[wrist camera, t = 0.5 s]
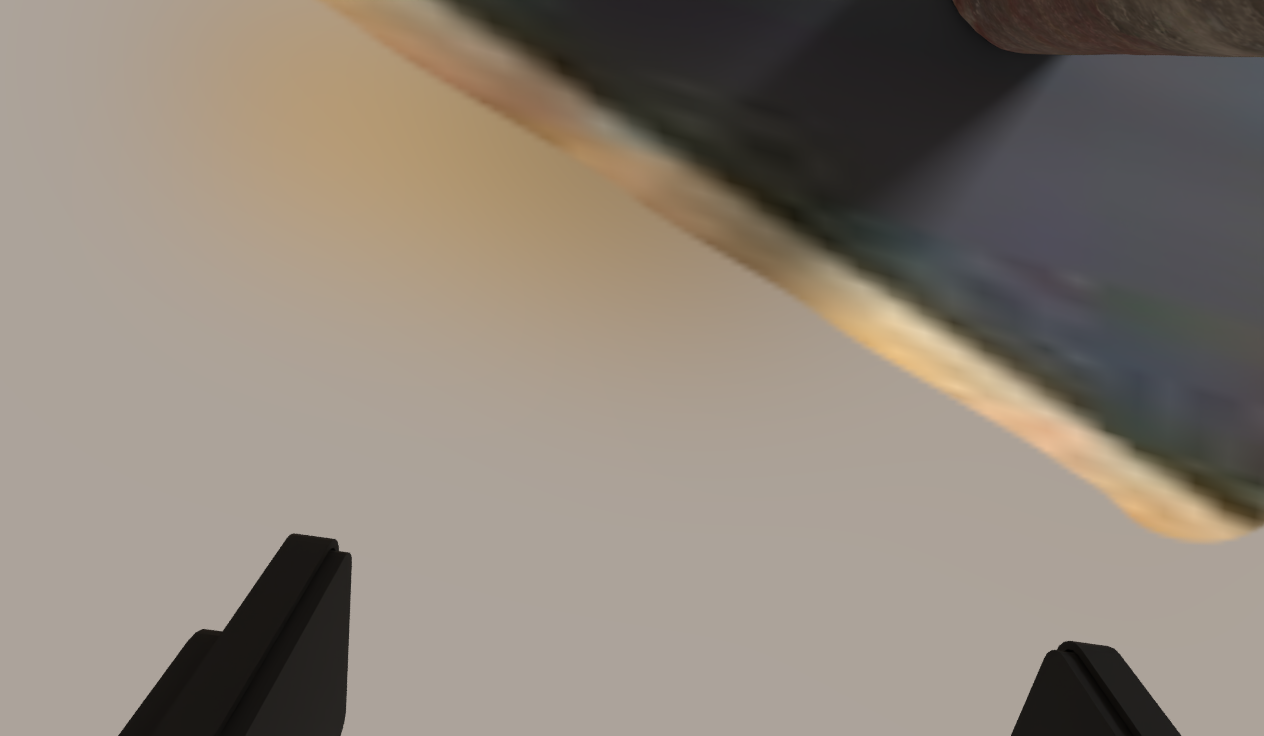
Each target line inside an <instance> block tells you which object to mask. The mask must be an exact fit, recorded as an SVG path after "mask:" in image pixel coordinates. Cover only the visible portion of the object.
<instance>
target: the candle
mask: <svg viewBox="0 0 1264 736" xmlns="http://www.w3.org/2000/svg"><path fill="white" fill-rule="evenodd" d="M953 3H954V5H955V6H956V8H957V9H958V11H959V14H960V15H961V16H962V17H963V18H964V19H965V20H966V21H967V22H968V23H969V24H970V25H971V26H972V28H973V29H974V30H975V31H976V32H977V33H979V34H980V35H981V36H983V37H984V38H985V39H986V40H988V41H989V42H990V43H991V44H993V45H995V46H997V47H998V48H1001V49H1003V50H1007V51H1012V52H1017V53H1023V54H1054V55H1101V54H1130V55H1177V56H1214V57H1264V0H953Z"/></svg>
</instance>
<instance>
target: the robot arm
mask: <svg viewBox="0 0 1264 736" xmlns="http://www.w3.org/2000/svg"><path fill="white" fill-rule="evenodd" d="M351 569H352V557H351V554H350V553H348V552H341V551H339V546H338V542H337V540H335V539H330V538H323V537H316V536H308V535H301V534H291V535H289V537H288V538H287V539H286V540H285V542H284V543H283V545H282V546H281V547H280V549H279V551H278V552H277V553H276V555H275V556H274V558H273V559H272V561H271V562H270V563H269V565H268V566H267V568H266V569H265V571H264V572H263V574H262V575H261V577H260V578H259V579H258V581H257V582H256V584H255V585H254V587H253V588H252V590H251V591H250V593H249V594H248V596H247V597H246V598H245V600H244V601H243V603H242V604H241V606H240V607H239V608H238V610H237V612H236V613H235V614H234V616H233V617H232V619H231V620H230V622H229V623H228V624H227V626H226V627H225V629H224V630H223V632H222V631H214V630H206V629H202V630H200V631H198V632H196V633H195V634H194V635H193V636H192V637H191V638H190V639H189V640H188V642H187V643H186V644H185V646H184V647H183V648H182V650H181V651H180V652H179V654H178V655H177V657H176V658H175V659H174V661H173V662H172V663H171V665H170V666H169V667H168V669H167V670H166V672H165V673H164V674H163V675H162V677H161V678H160V680H159V681H158V682H157V684H156V685H155V687H154V688H153V689H152V690H151V692H150V693H149V695H148V696H147V697H146V699H145V700H144V701H143V703H142V704H141V706H140V707H139V708H138V710H137V711H136V712H135V714H134V715H133V716H132V718H131V719H130V720H129V722H128V723H127V724H126V726H125V727H124V729H123V730H122V731H121V733H120V734H119V735H118V736H341V732H342V729H343V724H344V720H345V714H346V696H347V671H348V646H349V619H350V594H351V593H350V592H351ZM1011 736H1181V735H1180V733H1179V732H1178V731H1177V730H1176V728H1175V727H1174V725H1173V724H1172V723H1171V721H1170V720H1169V719H1168V717H1167V716H1166V715H1165V713H1164V712H1163V711H1162V710H1161V708H1160V707H1159V706H1158V704H1157V703H1156V702H1155V700H1154V699H1153V698H1152V696H1151V695H1150V694H1149V692H1148V691H1147V690H1146V688H1145V687H1144V686H1143V685H1142V683H1141V682H1140V680H1139V679H1138V678H1137V676H1136V675H1135V674H1134V673H1133V671H1132V670H1131V668H1130V667H1129V666H1128V664H1127V663H1126V662H1125V661H1124V659H1123V658H1122V657H1121V655H1120V654H1119V653H1118V652H1117V651H1116V650H1115V649H1114V648H1111V647H1109V646H1103V645H1095V644H1088V643H1081V642H1073V641H1067V642H1063V643H1062V644H1061V645H1060V646H1059V647H1058V649H1057V650H1051V651H1050V652H1048V653H1047V654H1046V656H1045V658H1044V660H1043V662H1042V665H1041V667H1040V669H1039V672H1038V674H1037V676H1036V679H1035V681H1034V683H1033V686H1032V688H1031V690H1030V693H1029V695H1028V697H1027V700H1026V702H1025V704H1024V706H1023V709H1022V711H1021V713H1020V716H1019V718H1018V720H1017V723H1016V725H1015V727H1014V730H1013V732H1012V734H1011Z"/></svg>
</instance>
